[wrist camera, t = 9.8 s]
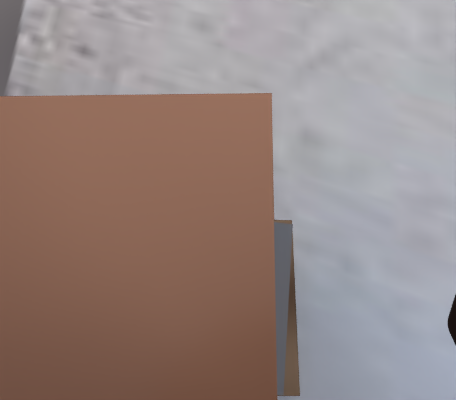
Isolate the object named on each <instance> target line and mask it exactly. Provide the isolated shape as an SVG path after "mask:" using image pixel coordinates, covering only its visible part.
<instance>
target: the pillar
mask: <svg viewBox="0 0 456 400" xmlns="http://www.w3.org/2000/svg"><path fill="white" fill-rule="evenodd" d="M0 400H277V356H276V302H275V249H274V196H273V143H272V93H248V94H162V95H77V96H0Z"/></svg>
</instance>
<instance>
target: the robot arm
mask: <svg viewBox="0 0 456 400" xmlns="http://www.w3.org/2000/svg"><path fill="white" fill-rule="evenodd" d="M448 328H449V332H450V334H451V336H452V338H453V340H454V343H455V345H456V295H455V298H454V301H453V304H452V308H451V311H450V314H449V317H448Z"/></svg>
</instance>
